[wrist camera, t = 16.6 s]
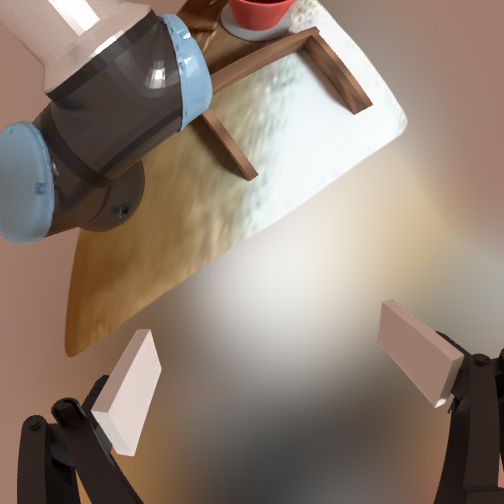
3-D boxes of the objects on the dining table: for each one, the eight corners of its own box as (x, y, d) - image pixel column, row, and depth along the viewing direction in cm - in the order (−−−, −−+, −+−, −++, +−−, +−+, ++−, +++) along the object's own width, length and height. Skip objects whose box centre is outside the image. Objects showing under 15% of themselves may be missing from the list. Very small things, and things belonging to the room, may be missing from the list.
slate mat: (222, 43, 35) (222, 42, 34) (219, -3, 32) (219, -5, 31) (294, 42, 35) (295, 41, 35) (285, -3, 33) (286, -5, 32)
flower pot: (225, -4, 32) (224, -36, 22) (286, -1, 32) (296, -32, 23) (223, 37, 34) (222, 4, 24) (290, 39, 35) (303, 8, 25)
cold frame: (361, 110, 39) (375, 103, 34) (245, 183, 40) (247, 182, 35) (307, 40, 35) (315, 26, 30) (187, 104, 37) (181, 93, 32)
